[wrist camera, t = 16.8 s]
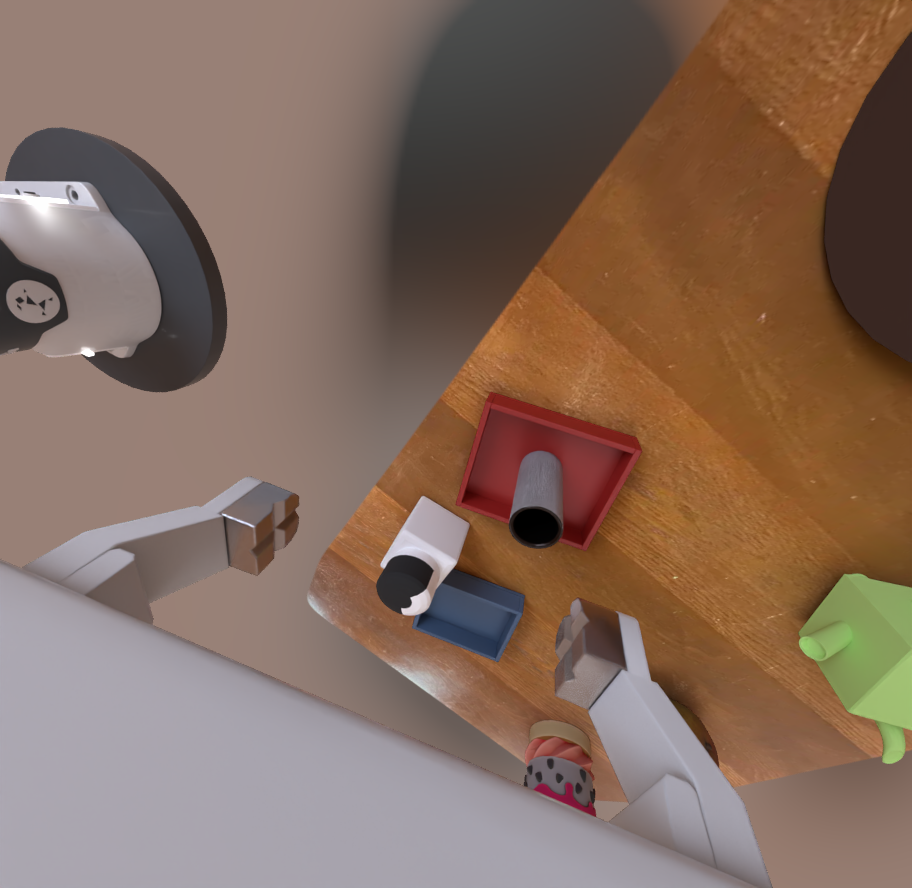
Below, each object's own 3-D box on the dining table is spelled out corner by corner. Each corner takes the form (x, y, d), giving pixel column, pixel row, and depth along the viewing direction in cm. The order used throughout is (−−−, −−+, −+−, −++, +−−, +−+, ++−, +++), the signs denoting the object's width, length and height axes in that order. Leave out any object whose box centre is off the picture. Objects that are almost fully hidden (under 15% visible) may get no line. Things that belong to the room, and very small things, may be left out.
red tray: (461, 490, 45) (455, 505, 42) (490, 391, 38) (485, 401, 36) (584, 533, 43) (585, 551, 41) (636, 437, 37) (642, 451, 34)
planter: (569, 458, 39) (571, 517, 30) (553, 491, 41) (551, 556, 32) (527, 444, 39) (518, 499, 30) (514, 478, 42) (502, 538, 33)
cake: (515, 730, 64) (503, 850, 51) (556, 711, 59) (555, 839, 46) (561, 762, 65) (561, 888, 52) (607, 746, 60) (619, 882, 47)
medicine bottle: (401, 528, 50) (359, 599, 40) (423, 493, 46) (383, 561, 36) (446, 556, 50) (415, 634, 40) (471, 523, 47) (445, 599, 36)
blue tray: (418, 611, 57) (411, 628, 54) (433, 560, 51) (426, 577, 49) (501, 643, 55) (498, 662, 53) (524, 595, 50) (522, 613, 47)
